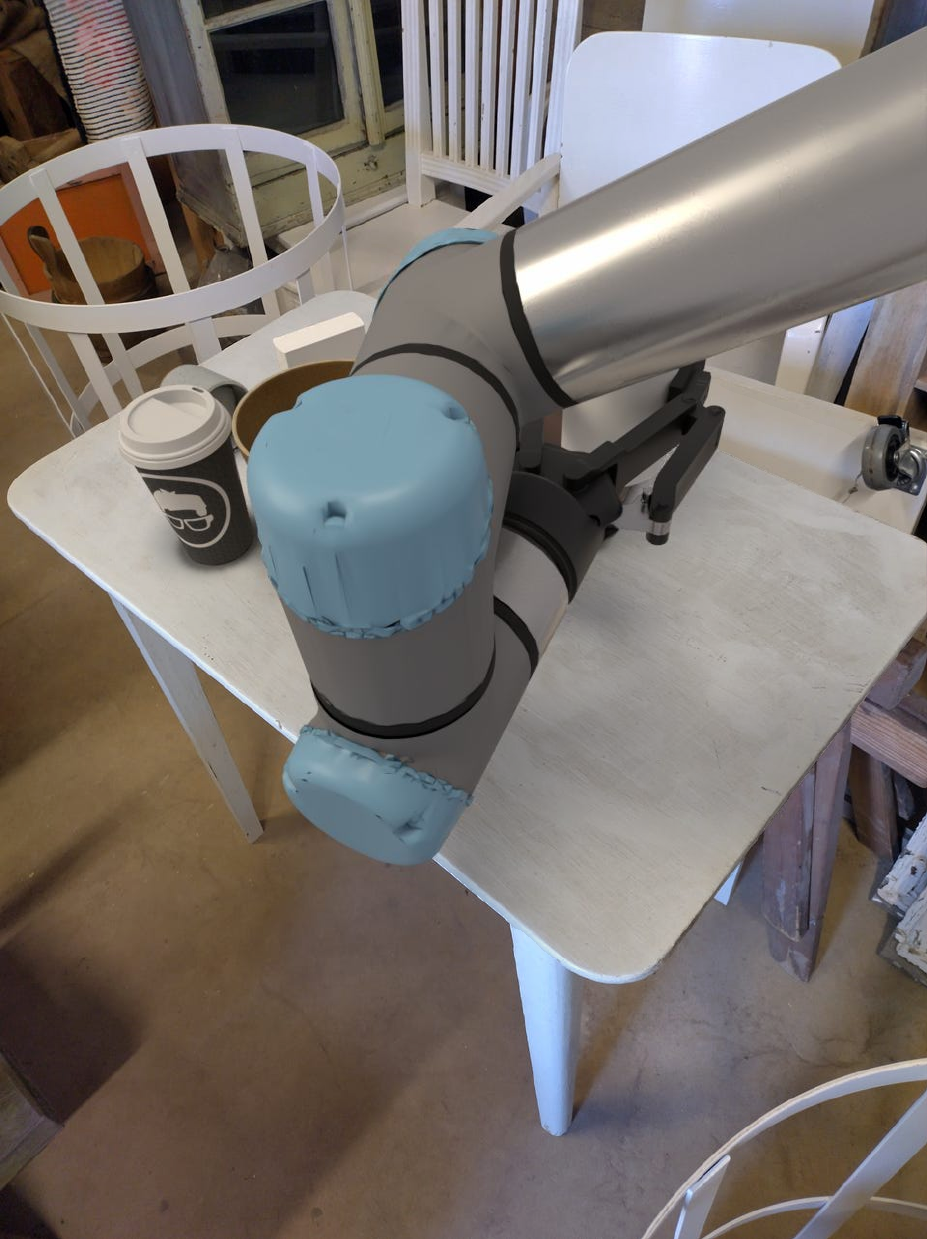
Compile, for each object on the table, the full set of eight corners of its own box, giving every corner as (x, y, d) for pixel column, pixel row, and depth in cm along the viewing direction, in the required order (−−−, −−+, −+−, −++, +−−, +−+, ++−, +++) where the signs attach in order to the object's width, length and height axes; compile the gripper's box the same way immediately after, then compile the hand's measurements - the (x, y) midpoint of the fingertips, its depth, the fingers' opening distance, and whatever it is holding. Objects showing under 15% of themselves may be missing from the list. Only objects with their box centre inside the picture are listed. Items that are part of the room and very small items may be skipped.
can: (679, 482, 55) (710, 318, 45) (579, 504, 54) (590, 341, 45) (641, 421, 59) (661, 260, 50) (547, 440, 58) (551, 280, 49)
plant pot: (304, 633, 71) (257, 495, 59) (261, 527, 80) (213, 388, 68) (461, 576, 74) (447, 434, 62) (403, 480, 83) (381, 339, 71)
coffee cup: (286, 547, 78) (243, 417, 66) (193, 592, 75) (131, 465, 63) (244, 494, 83) (198, 365, 72) (156, 534, 80) (93, 407, 69)
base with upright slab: (319, 469, 85) (293, 369, 76) (286, 425, 90) (259, 326, 81) (395, 438, 87) (380, 337, 78) (360, 397, 93) (341, 298, 83)
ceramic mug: (217, 403, 93) (195, 344, 87) (264, 429, 90) (244, 369, 84) (142, 453, 89) (113, 394, 83) (188, 482, 85) (161, 422, 79)
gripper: (349, 567, 48) (508, 358, 60) (685, 677, 41) (784, 417, 54) (325, 467, 42) (506, 259, 55) (710, 578, 35) (814, 312, 48)
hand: (644, 338), depth 54 cm, fingers closed on can, 7 cm apart
